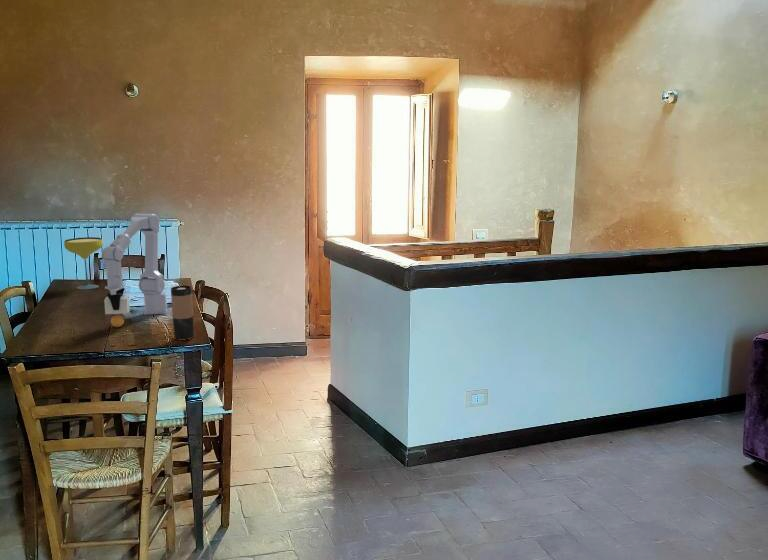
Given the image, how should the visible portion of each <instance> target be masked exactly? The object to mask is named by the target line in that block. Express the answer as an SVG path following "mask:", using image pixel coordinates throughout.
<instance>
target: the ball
mask: <svg viewBox="0 0 768 560" xmlns="http://www.w3.org/2000/svg"><path fill="white" fill-rule="evenodd" d="M124 323H125V320H124V317H123V316H122V315H120V314H114V315H113V316H111V319H110V324H111V325H112V326H113V327H115V328H120V327H122V326H123V325H124Z"/></svg>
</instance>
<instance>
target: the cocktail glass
mask: <svg viewBox="0 0 768 560" xmlns="http://www.w3.org/2000/svg"><path fill="white" fill-rule="evenodd" d="M63 246H64V249H66V250H67V252H70V253H73V254H75V255H77V256H79V257H80V258H82V259H83V260H84V268H85V269H84V270H85V284H83V285H80V286H79V285H78V286H77V287H76V290H80V291H81V290H82V291H85V290H86V291H87V290H95V289H98V288H99V287H100V285H97V284H90V282H89V277H88V270H87V259H88V258H89V257H90V255H92V254H93V253H96V252H97V251H99V250H100V249H101V248H102V246H103V238H102V237H97V236H96V237H91V236H90V237H87V236H86V237H76V238H69V239H65V240H64V241H63Z"/></svg>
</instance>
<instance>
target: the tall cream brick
mask: <svg viewBox="0 0 768 560" xmlns="http://www.w3.org/2000/svg"><path fill="white" fill-rule="evenodd" d="M129 297H130V296H129V295H123V296H121V298H120V307H119V310H113V308H112V304H111V302H110V299H109V298H108V297H107V296H106V297H105V298H104V300H103V302H104V314H105V315H120V314H121V315H122V314H128V313H129V312H130V301H129V300H130V299H129Z"/></svg>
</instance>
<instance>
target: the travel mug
mask: <svg viewBox="0 0 768 560" xmlns="http://www.w3.org/2000/svg"><path fill="white" fill-rule="evenodd" d="M192 293H193V292H192V286H190V285H177V286H176V285H175V286H172V287H171V288H170V297H171V299H170V300H171V311H172V312H171V313H172V314H171V315H172V325H173V334H174V339H175V338H176V339H187V338H191V337H193V336H194V337H195V333H194V332H195V330H194V329H195V328H194V325H195V324H194V309H193V296H192V295H193V294H192ZM176 339H175V340H176Z"/></svg>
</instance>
